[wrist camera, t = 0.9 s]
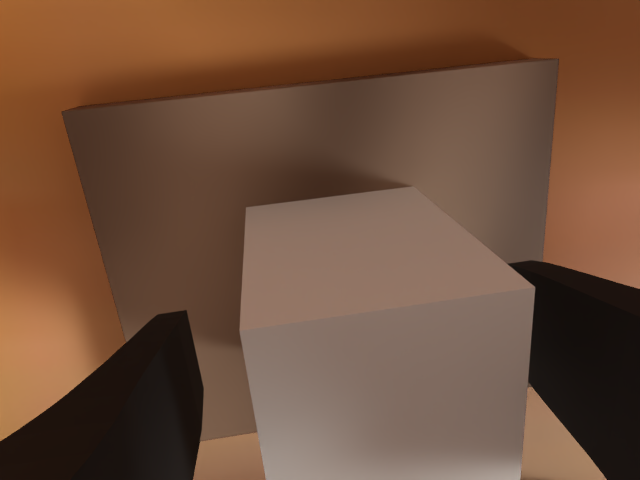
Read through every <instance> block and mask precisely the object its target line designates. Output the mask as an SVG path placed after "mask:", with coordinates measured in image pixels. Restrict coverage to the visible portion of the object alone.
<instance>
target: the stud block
mask: <svg viewBox="0 0 640 480" xmlns="http://www.w3.org/2000/svg"><path fill="white" fill-rule="evenodd" d="M558 65H559V59H538V58H533V59H523V60H514V61H504V62H495V63H486V64H476V65H467V66H457V67H448V68H438V69H429V70H419V71H410V72H401V73H391V74H382V75H372V76H363V77H353V78H344V79H334V80H325V81H315V82H306V83H297V84H287V85H278V86H268V87H259V88H249V89H240V90H230V91H221V92H211V93H202V94H193V95H183V96H174V97H164V98H155V99H145V100H136V101H126V102H117V103H107V104H98V105H89V106H79V107H76V108H72V109H69V110H65V111H62V116H63V119H64V123H65V127H66V130H67V134H68V137H69V141H70V144H71V148H72V152H73V155H74V159H75V162H76V166H77V169H78V173H79V176H80V180H81V184H82V187H83V191H84V194H85V198H86V201H87V205H88V208H89V212H90V216H91V219H92V223H93V226H94V230H95V233H96V237H97V241H98V244H99V248H100V251H101V255H102V258H103V262H104V265H105V269H106V273H107V276H108V280H109V283H110V287H111V290H112V294H113V298H114V301H115V305H116V308H117V312H118V315H119V319H120V322H121V326H122V330H123V333H124V337H125V340H126V342H127V341H129V340H130V339H131V338H132V337H133V336H134V335H135V334H136V333H137V332H138V331H139V330H140V329H141V328H142V327H143V326H145V325H146V324H147V323H148V322H149V321H150V320H151V319H152V318H154V317H155V316H156V315H158V314H163V313H170V312H177V311H183V310H187V314H188V318H189V323H190V327H191V332H192V337H193V341H194V346H195V350H196V355H197V359H198V364H199V368H200V373H201V377H202V382H203V386H204V397H203V418H202V431H201V437H200V441H206V440H212V439H218V438H224V437H230V436H236V435H242V434H248V433H254V432H257V426H256V421H255V415H254V410H253V404H252V398H251V393H250V387H249V382H248V376H247V370H246V365H245V359H244V354H243V348H242V342H241V337H240V331H239V329H240V311H241V292H242V273H243V255H244V236H245V218H246V207H253V206H261V205H269V204H276V203H284V202H292V201H300V200H308V199H316V198H324V197H332V196H340V195H348V194H356V193H364V192H372V191H380V190H387V189H395V188H403V187H411V186H413V187H415V188H416V189H417V190H418V191H420V192H421V193H422V194H423V195H424V196H426V197H427V198H428V199H429V200H430V201H432V202H433V203H434V204H435V205H436V206H438V207H439V208H440V209H441V210H442V211H444V212H445V213H446V214H447V215H449V216H450V217H451V218H452V219H453V220H455V221H456V222H457V223H458V224H459V225H461V226H462V227H463V228H464V229H465V230H467V231H468V232H469V233H470V234H471V235H473V236H474V237H475V238H476V239H478V240H479V241H480V242H481V243H482V244H484V245H485V246H486V247H487V248H488V249H490V250H491V251H492V252H493V253H494V254H496V255H497V256H498V257H499V258H500V259H502V260H503V261H504V262H505V263H507V264H509V263H515V262H522V261H529V260H534V261H541V262H542V261H543V249H544V236H545V224H546V212H547V200H548V187H549V175H550V163H551V151H552V139H553V126H554V114H555V102H556V90H557V77H558ZM528 387H532V386H531V385H530V384H529V382H528Z"/></svg>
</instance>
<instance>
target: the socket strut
mask: <svg viewBox="0 0 640 480" xmlns="http://www.w3.org/2000/svg"><path fill="white" fill-rule="evenodd" d="M534 297H535V287H534V286H533V285H532V284H531V283H530V282H528V281H527V280H526V279H525V278H523V277H522V276H521V275H520V274H519V273H517V272H516V271H515V270H514V269H513V268H511V267H510V266H509V265H508V264H507V263H505V262H504V261H503V260H502V259H500V258H499V257H498V256H497V255H496V254H494V253H493V252H492V251H491V250H490V249H488V248H487V247H486V246H485V245H484V244H482V243H481V242H480V241H479V240H478V239H476V238H475V237H474V236H473V235H471V234H470V233H469V232H468V231H467V230H465V229H464V228H463V227H462V226H461V225H459V224H458V223H457V222H456V221H455V220H453V219H452V218H451V217H450V216H449V215H447V214H446V213H445V212H444V211H442V210H441V209H440V208H439V207H438V206H436V205H435V204H434V203H433V202H432V201H430V200H429V199H428V198H427V197H426V196H424V195H423V194H422V193H421V192H420V191H418V190H417V189H416V188H415V187H413V186H411V187H403V188H395V189H387V190H380V191H372V192H364V193H356V194H348V195H340V196H332V197H324V198H316V199H308V200H300V201H292V202H284V203H276V204H269V205H261V206H253V207H246V218H245V236H244V255H243V273H242V292H241V311H240V329H239V331H240V337H241V342H242V348H243V354H244V359H245V365H246V370H247V376H248V382H249V387H250V393H251V398H252V404H253V410H254V415H255V421H256V426H257V432H258V438H259V443H260V449H261V454H262V460H263V466H264V471H265V477H266V480H520V477H521V464H522V451H523V439H524V426H525V413H526V400H527V387H528V374H529V361H530V348H531V335H532V322H533V310H534Z"/></svg>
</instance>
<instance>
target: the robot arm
mask: <svg viewBox="0 0 640 480" xmlns="http://www.w3.org/2000/svg"><path fill="white" fill-rule="evenodd" d="M508 265H509V266H510V267H511V268H513V269H514V270H515V271H516V272H517V273H519V274H520V275H521V276H522V277H523V278H525V279H526V280H527V281H528V282H530V283H531V284H532V285H533V286H534V287H535V297H534V310H533V322H532V335H531V348H530V361H529V374H528V382H529V384H530V385H531V386H532V387H533V389H534V390H535V391H536V392H537V393H538V395H539V396H540V397H541V398H542V400H543V401H544V402H545V403H546V405H547V406H548V407H549V408H550V409H551V411H552V412H553V413H554V414H555V415H556V417H557V418H558V419H559V420H560V421H561V423H562V424H563V425H564V426H565V427H566V429H567V430H568V431H569V432H570V433H571V435H572V436H573V437H574V438H575V440H576V441H577V442H578V443H579V444H580V446H581V447H582V448H583V449H584V450H585V452H586V453H587V454H588V455H589V456H590V458H591V459H592V460H593V462H594V463H595V464H596V466H597V467H598V468H599V470H600V471H601V472H602V473H603V475H604V476H605V478H606V479H607V480H640V289H637V288H634V287H630V286H627V285H623V284H620V283H616V282H613V281H610V280H606V279H603V278H599V277H596V276H593V275H589V274H586V273H583V272H579V271H576V270H572V269H569V268H565V267H562V266H558V265H554V264H550V263H546V262H541V261H534V260H529V261H522V262H515V263H509V264H508ZM203 397H204V386H203V382H202V377H201V373H200V368H199V364H198V359H197V355H196V350H195V346H194V341H193V337H192V332H191V327H190V323H189V318H188V314H187V310H183V311H177V312H170V313H163V314H158V315H156V316H155V317H154V318H152V319H151V320H150V321H149V322H148V323H147V324H146V325H145V326H143V327H142V328H141V329H140V330H139V331H138V332H137V333H136V334H135V335H134V336H133V337H132V338H131V339H130V340H129V341H127V342H126V343H125V344H124V345H123V346H122V347H121V348H120V349H119V350H118V351H117V352H116V353H114V354H113V355H112V356H111V357H110V358H109V359H108V360H107V361H106V362H105V363H104V364H102V365H101V366H100V367H99V368H98V369H97V370H95V371H94V372H93V373H92V374H91V375H89V376H88V377H87V378H86V379H85V380H83V381H82V382H81V383H80V384H79V385H77V386H76V387H75V388H74V389H73V390H72V391H70V392H69V393H68V394H67V395H65V396H64V397H63V398H62V399H60V400H59V401H58V402H56V403H55V404H54V405H52V406H51V407H50V408H48V409H47V410H46V411H44V412H43V413H42V414H40V415H39V416H37V417H36V418H34V419H33V420H32V421H30V422H29V423H27V424H26V425H24V426H23V427H22V428H20V429H19V430H17V431H16V432H14V433H13V434H11V435H10V436H8V437H7V438H5V439H3V440H2V441H0V480H193V476H194V470H195V465H196V460H197V454H198V449H199V443H200V437H201V431H202V418H203Z"/></svg>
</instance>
